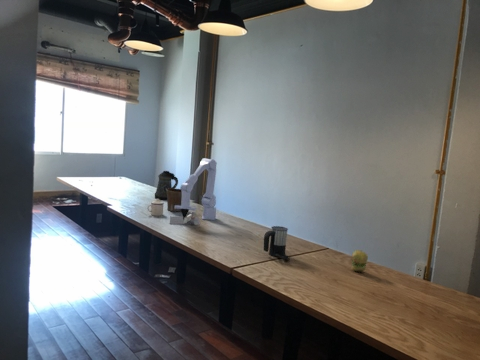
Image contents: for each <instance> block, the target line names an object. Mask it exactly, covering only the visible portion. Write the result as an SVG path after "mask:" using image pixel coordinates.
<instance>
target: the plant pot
mask: <svg viewBox="0 0 480 360" xmlns="http://www.w3.org/2000/svg"><path fill="white" fill-rule="evenodd" d="M166 191H167V200H166V202H167V203H166V205H167V206H166V207H167V208H166V209H167V210H168V212H173V213H177V212H179V213H180V212H181V209H175V205H176V206H181V200H182V191H181V188H175V189H166ZM181 213H182V212H181Z"/></svg>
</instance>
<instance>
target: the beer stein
mask: <svg viewBox="0 0 480 360" xmlns="http://www.w3.org/2000/svg"><path fill="white" fill-rule="evenodd" d="M172 181H175V183H174V185H173V186H172ZM178 184H179V179H178V177H177V176H175V174H174V173H172V172H170V170H163V171H162V172H161V173H160V174H159V175H158V182H157V188H156V189H155V193H154V199H155V200H156V199H159V200H160V201H167V191H166V189H177V186H178Z"/></svg>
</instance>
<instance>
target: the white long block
mask: <svg viewBox="0 0 480 360" xmlns="http://www.w3.org/2000/svg"><path fill="white" fill-rule="evenodd" d="M191 216H192V214H190V213H189V214H187V215H186V217H185V218H184V223H187V222H188V221H190V220H191Z"/></svg>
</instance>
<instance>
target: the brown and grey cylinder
mask: <svg viewBox="0 0 480 360" xmlns="http://www.w3.org/2000/svg"><path fill="white" fill-rule="evenodd" d="M194 220H195V216H194V215H193V216H191V225H190V226H195V225H194Z"/></svg>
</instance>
